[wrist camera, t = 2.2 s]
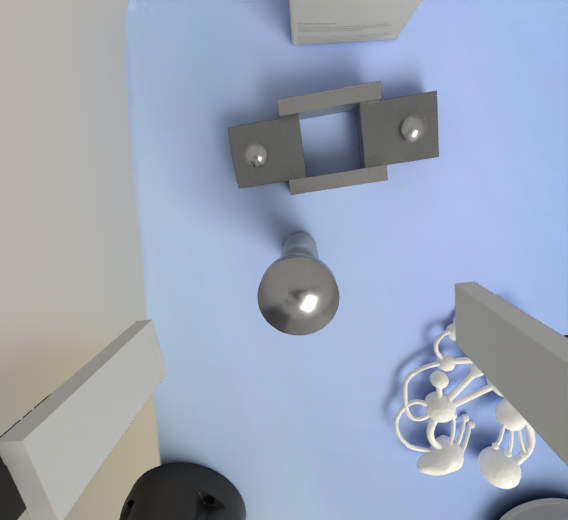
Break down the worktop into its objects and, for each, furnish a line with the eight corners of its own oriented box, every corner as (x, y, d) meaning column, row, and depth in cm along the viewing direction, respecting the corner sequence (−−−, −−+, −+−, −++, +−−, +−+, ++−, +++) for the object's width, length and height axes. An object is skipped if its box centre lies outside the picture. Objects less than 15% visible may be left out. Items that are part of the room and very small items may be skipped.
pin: (280, 273, 31) (264, 339, 18) (273, 228, 30) (251, 264, 17) (326, 267, 30) (343, 330, 18) (320, 221, 29) (334, 253, 17)
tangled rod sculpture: (415, 289, 32) (427, 303, 28) (565, 310, 30) (602, 328, 26) (381, 443, 36) (388, 474, 32) (511, 469, 35) (535, 505, 31)
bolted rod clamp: (245, 200, 29) (238, 202, 26) (230, 117, 27) (221, 109, 25) (429, 172, 28) (444, 171, 25) (426, 81, 26) (441, 69, 23)
